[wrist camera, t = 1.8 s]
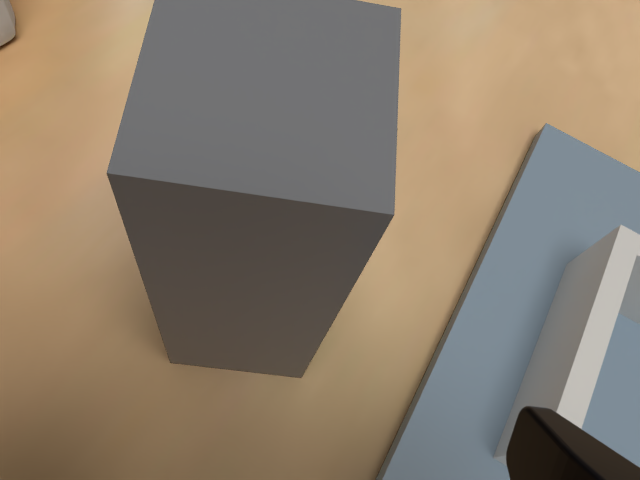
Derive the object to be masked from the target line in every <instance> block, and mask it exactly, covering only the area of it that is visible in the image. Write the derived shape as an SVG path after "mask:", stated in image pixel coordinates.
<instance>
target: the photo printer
mask: <svg viewBox="0 0 640 480" xmlns="http://www.w3.org/2000/svg"><path fill="white" fill-rule="evenodd" d="M15 34H16V31H15V15H14V12H13V9H12V6H11V3H10V1H9V0H0V46H1V45H3V44H5V43H7V42H8V41H10V40H11V39H13V37H14V36H15Z"/></svg>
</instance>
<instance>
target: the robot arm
mask: <svg viewBox="0 0 640 480" xmlns="http://www.w3.org/2000/svg"><path fill="white" fill-rule="evenodd" d="M506 464H507V469H508V473H509V477H510V480H640V467H638V466H637V465H635V464H634V463H632V462H631V461H629V460H628V459H626V458H625V457H623V456H622V455H620V454H619V453H617V452H615V451H614V450H612V449H611V448H609V447H608V446H606V445H605V444H603V443H602V442H600V441H599V440H597V439H596V438H594V437H593V436H591V435H590V434H588V433H587V432H585V431H584V430H582V429H581V428H579V427H578V426H576V425H575V424H573V423H572V422H570V421H569V420H567V419H566V418H564V417H562V416H561V415H559V414H558V413H556V412H555V411H553V410H552V409H549V408H543V407H534V406H525V407H524V408H522V409H521V410H520V412H519V414H518V417H517V420H516V423H515V426H514V429H513V432H512V435H511V438H510V441H509V444H508V447H507V452H506Z"/></svg>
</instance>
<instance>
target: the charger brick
mask: <svg viewBox="0 0 640 480" xmlns="http://www.w3.org/2000/svg"><path fill="white" fill-rule="evenodd" d="M400 27H401V8H396V7H390V6H384V5H379V4H373V3H368V2H362V1H357V0H155V1H154V4H153V8H152V12H151V15H150V19H149V22H148V26H147V30H146V33H145V37H144V40H143V44H142V48H141V51H140V55H139V58H138V62H137V66H136V69H135V73H134V76H133V80H132V84H131V87H130V91H129V94H128V98H127V102H126V105H125V109H124V112H123V116H122V120H121V123H120V127H119V130H118V134H117V138H116V141H115V145H114V148H113V152H112V156H111V159H110V163H109V166H108V170H107V175H108V178H109V181H110V184H111V187H112V190H113V193H114V196H115V199H116V202H117V205H118V208H119V211H120V214H121V217H122V220H123V223H124V226H125V229H126V232H127V235H128V238H129V241H130V244H131V247H132V250H133V253H134V256H135V259H136V262H137V265H138V268H139V271H140V274H141V277H142V280H143V283H144V286H145V289H146V292H147V295H148V298H149V301H150V304H151V307H152V310H153V312H154V315H155V318H156V321H157V324H158V327H159V330H160V333H161V336H162V339H163V342H164V345H165V348H166V351H167V354H168V357H169V360H170V363H177V364H185V365H194V366H202V367H211V368H220V369H228V370H237V371H245V372H254V373H263V374H271V375H280V376H288V377H297V378H301V377H302V376H303V374H304V372H305V370H306V369H307V367H308V365H309V363H310V362H311V360H312V358H313V356H314V355H315V353H316V351H317V349H318V348H319V346H320V344H321V342H322V341H323V339H324V337H325V335H326V334H327V332H328V330H329V328H330V327H331V325H332V323H333V321H334V320H335V318H336V316H337V314H338V313H339V311H340V309H341V307H342V306H343V304H344V302H345V300H346V299H347V297H348V295H349V293H350V292H351V290H352V288H353V286H354V285H355V283H356V281H357V279H358V278H359V276H360V274H361V272H362V271H363V269H364V267H365V265H366V263H367V262H368V260H369V258H370V256H371V255H372V253H373V251H374V249H375V248H376V246H377V244H378V242H379V241H380V239H381V237H382V235H383V234H384V232H385V230H386V228H387V227H388V225H389V223H390V221H391V220H392V218H393V216H394V207H395V177H396V147H397V117H398V87H399V57H400Z"/></svg>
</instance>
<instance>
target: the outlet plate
mask: <svg viewBox="0 0 640 480" xmlns="http://www.w3.org/2000/svg"><path fill="white" fill-rule="evenodd" d="M525 406H534V407H543V408H549V409H552V410H553V411H555V412H556V413H558V414H559V415H561V416H562V417H564V418H566V419H567V420H569V421H570V422H572V423H573V424H575V425H576V426H578V427H579V428H581V429H582V430H584V431H585V432H587V433H588V434H590V435H591V436H593V437H594V438H596V439H597V440H599V441H600V442H602V443H603V444H605V445H606V446H608V447H609V448H611V449H612V450H614V451H615V452H617V453H619V454H620V455H622V456H623V457H625V458H626V459H628V460H629V461H631V462H632V463H634V464H635V465H637V466H638V467H640V172H638V171H636V170H634V169H632V168H630V167H628V166H627V165H625V164H623V163H621V162H619V161H617V160H615V159H613V158H611V157H609V156H608V155H606V154H604V153H602V152H600V151H598V150H596V149H594V148H592V147H591V146H589V145H587V144H585V143H583V142H581V141H579V140H577V139H575V138H573V137H572V136H570V135H568V134H566V133H564V132H562V131H560V130H558V129H556V128H555V127H553V126H551V125H549V124H547V123H546V124H545V125H544V126H543V128H542V129H541V130H540V131H539V132H538V134H537V135H536V136H535V138H534V140H533V142H532V144H531V147H530V149H529V151H528V153H527V155H526V157H525V159H524V162H523V164H522V166H521V168H520V170H519V172H518V175H517V177H516V179H515V181H514V183H513V185H512V187H511V190H510V192H509V194H508V196H507V198H506V200H505V203H504V205H503V207H502V209H501V211H500V213H499V215H498V218H497V220H496V222H495V224H494V226H493V228H492V231H491V233H490V235H489V237H488V239H487V241H486V243H485V246H484V248H483V250H482V252H481V254H480V256H479V258H478V261H477V263H476V265H475V267H474V269H473V271H472V274H471V276H470V278H469V280H468V282H467V284H466V286H465V289H464V291H463V293H462V295H461V297H460V299H459V302H458V304H457V306H456V308H455V310H454V312H453V314H452V317H451V319H450V321H449V323H448V325H447V327H446V330H445V332H444V334H443V336H442V338H441V340H440V342H439V345H438V347H437V349H436V351H435V353H434V355H433V357H432V360H431V362H430V364H429V366H428V368H427V370H426V373H425V375H424V377H423V379H422V381H421V383H420V385H419V388H418V390H417V392H416V394H415V396H414V398H413V401H412V403H411V405H410V407H409V409H408V411H407V413H406V416H405V418H404V420H403V422H402V424H401V426H400V429H399V431H398V433H397V435H396V437H395V439H394V441H393V444H392V446H391V448H390V450H389V452H388V454H387V456H386V459H385V461H384V463H383V465H382V467H381V469H380V472H379V474H378V476H377V478H376V480H510V477H509V473H508V469H507V464H506V452H507V447H508V444H509V441H510V438H511V435H512V432H513V429H514V426H515V423H516V420H517V417H518V414H519V412H520V410H521V409H522V408H524V407H525Z"/></svg>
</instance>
